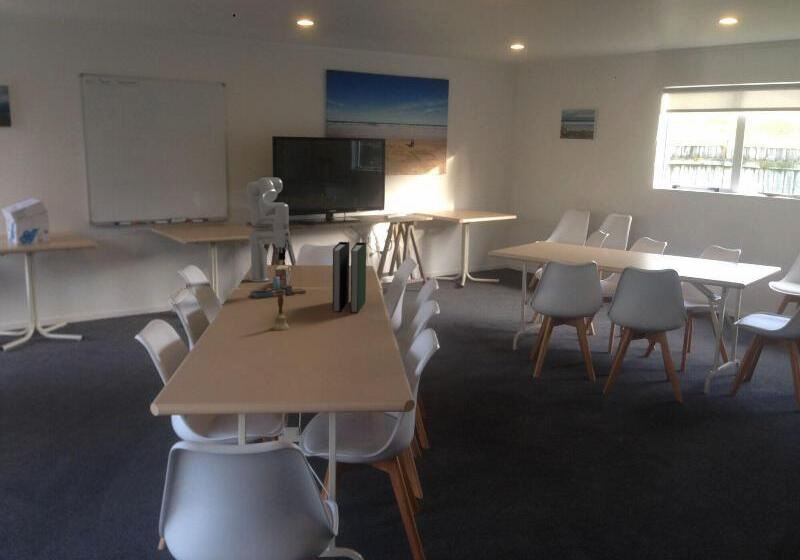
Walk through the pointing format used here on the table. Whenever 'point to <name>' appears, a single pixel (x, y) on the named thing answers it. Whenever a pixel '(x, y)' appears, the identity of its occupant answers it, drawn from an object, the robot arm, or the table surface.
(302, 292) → the board
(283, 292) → the socket
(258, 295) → the tray
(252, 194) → the robot arm
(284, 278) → the stack of blocks
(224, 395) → the table surface
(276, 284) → the dowel
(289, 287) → the gray rectangular block
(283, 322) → the hand bell
